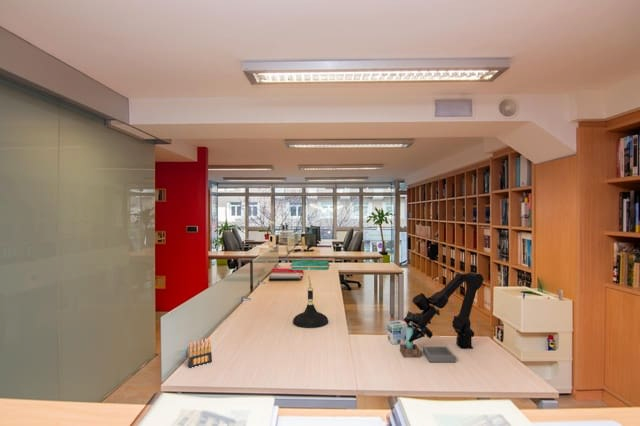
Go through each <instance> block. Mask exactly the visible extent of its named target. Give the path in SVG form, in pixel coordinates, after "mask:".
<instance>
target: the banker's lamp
mask: <svg viewBox="0 0 640 426" xmlns="http://www.w3.org/2000/svg"><path fill="white" fill-rule="evenodd" d="M329 262H330V261H328V260H320V259H319V260H316V259H315V260H314V259H313V260H308V259H307V260H292V261H291V264H290V265H289V267H290V268H291V271H292V270H293V271H307V278H308V282H309V285H308V287H307V301H308V302H307V304H306V307H305V308H304V311H303V312H301V313H298V314H296V316H294V317H293V320H292V324H293V325H294V326H296V327H298V328H302V329H303V328H304V329H316V328H322V327H324V326H326V325H328V324H329V319H328V317H327V316H326V314H323V313H322V312H318V310H317V309H316V308H315V305H314V302H313V301H314V289H313V287H312V283H311V279H310V271H328V270H329V269H330V268H331V264H330V263H329Z"/></svg>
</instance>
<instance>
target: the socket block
mask: <svg viewBox="0 0 640 426" xmlns="http://www.w3.org/2000/svg"><path fill="white" fill-rule="evenodd" d="M399 352H400V354H401V356H402V357H403V358H421V351H420V348H419V347H418V345H417V344H416V343H413V349H406V343H403V344H399Z"/></svg>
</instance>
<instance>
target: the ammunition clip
mask: <svg viewBox="0 0 640 426" xmlns="http://www.w3.org/2000/svg"><path fill="white" fill-rule="evenodd" d="M188 345H189V346H188V357H187V358H188V362H187V363H188V364H187V367H189V368H190V369H193V368H196V367H195V366H197V367H200V366H199V365H201V366H204V365H208V364H212V363H213V355H212V341H211V337H208V340H207V337H205V339H204V340H203V338H201V341H200V340H199V339H197V342H196V340H194V341H193V342H192V341H189V344H188ZM211 362H212V363H211ZM207 363H208V364H207ZM203 364H204V365H203ZM192 367H193V368H192ZM189 368H188V369H189Z"/></svg>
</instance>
